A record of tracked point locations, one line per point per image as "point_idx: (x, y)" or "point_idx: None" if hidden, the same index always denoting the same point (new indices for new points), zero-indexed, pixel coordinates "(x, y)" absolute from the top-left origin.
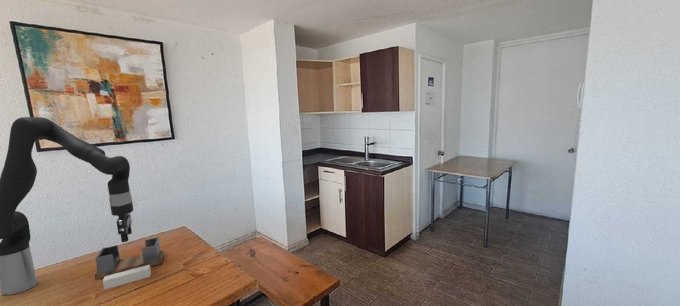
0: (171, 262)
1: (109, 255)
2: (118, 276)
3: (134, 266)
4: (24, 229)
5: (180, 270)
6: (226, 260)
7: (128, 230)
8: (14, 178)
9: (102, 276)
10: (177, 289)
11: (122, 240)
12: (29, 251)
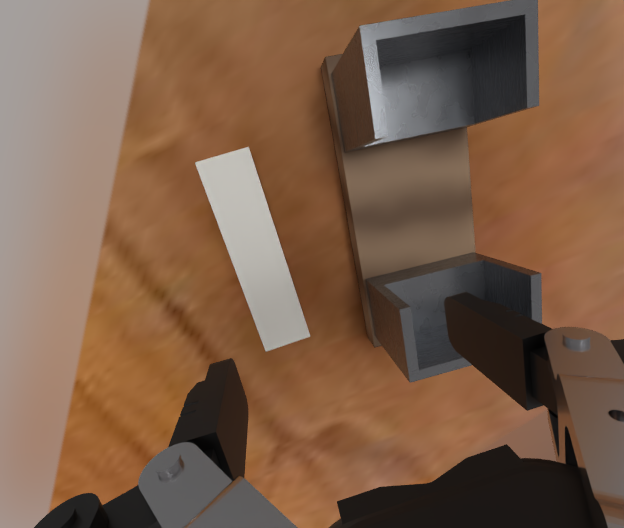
0: (366, 373)
1: (373, 123)
2: (226, 228)
3: (355, 240)
4: None
5: (280, 432)
6: None
7: (478, 345)
8: None
9: (327, 99)
10: (130, 471)
11: (187, 397)
12: None
